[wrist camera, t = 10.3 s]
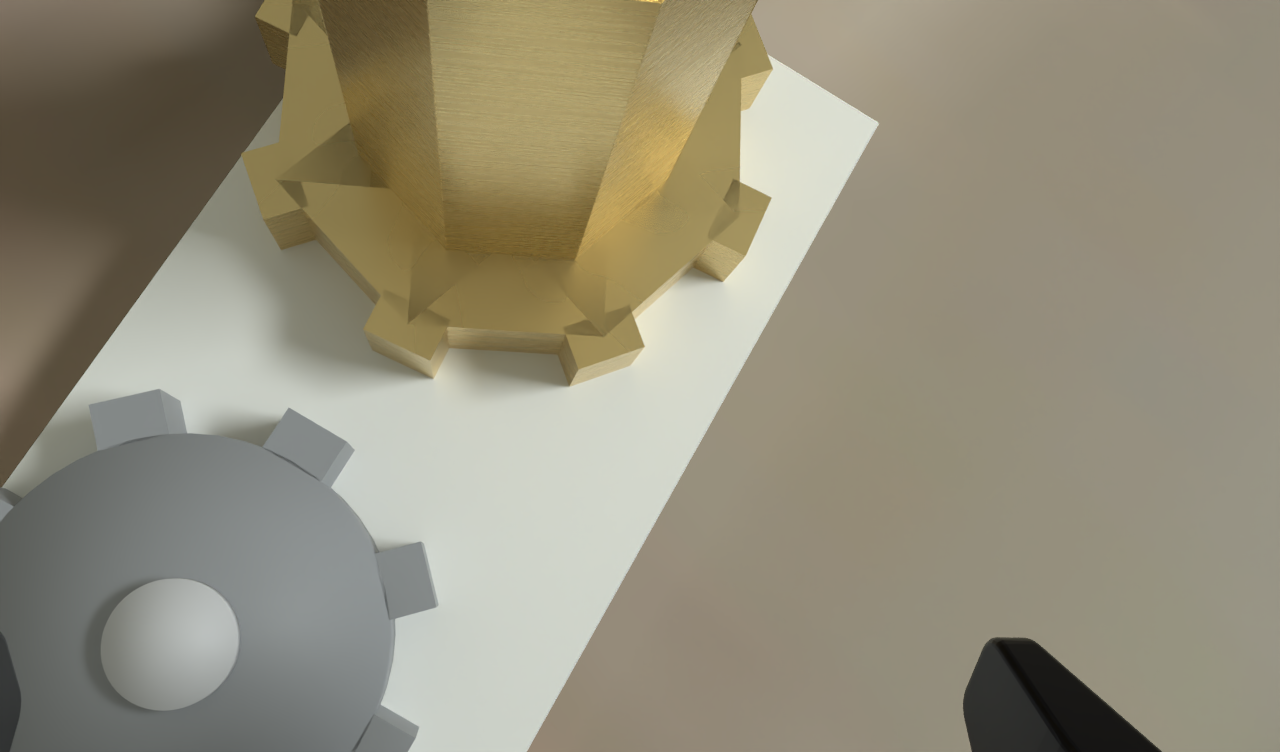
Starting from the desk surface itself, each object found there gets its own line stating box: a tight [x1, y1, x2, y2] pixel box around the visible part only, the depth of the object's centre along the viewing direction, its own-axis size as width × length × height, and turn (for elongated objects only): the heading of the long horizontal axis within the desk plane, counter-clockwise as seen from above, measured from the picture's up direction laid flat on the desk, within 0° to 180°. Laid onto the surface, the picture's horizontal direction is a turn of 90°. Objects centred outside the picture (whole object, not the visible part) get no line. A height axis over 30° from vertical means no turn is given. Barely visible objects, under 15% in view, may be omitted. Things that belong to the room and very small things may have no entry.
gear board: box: [0, 54, 879, 752], centre depth 17 cm, size 17×9×4 cm, turn 150°
